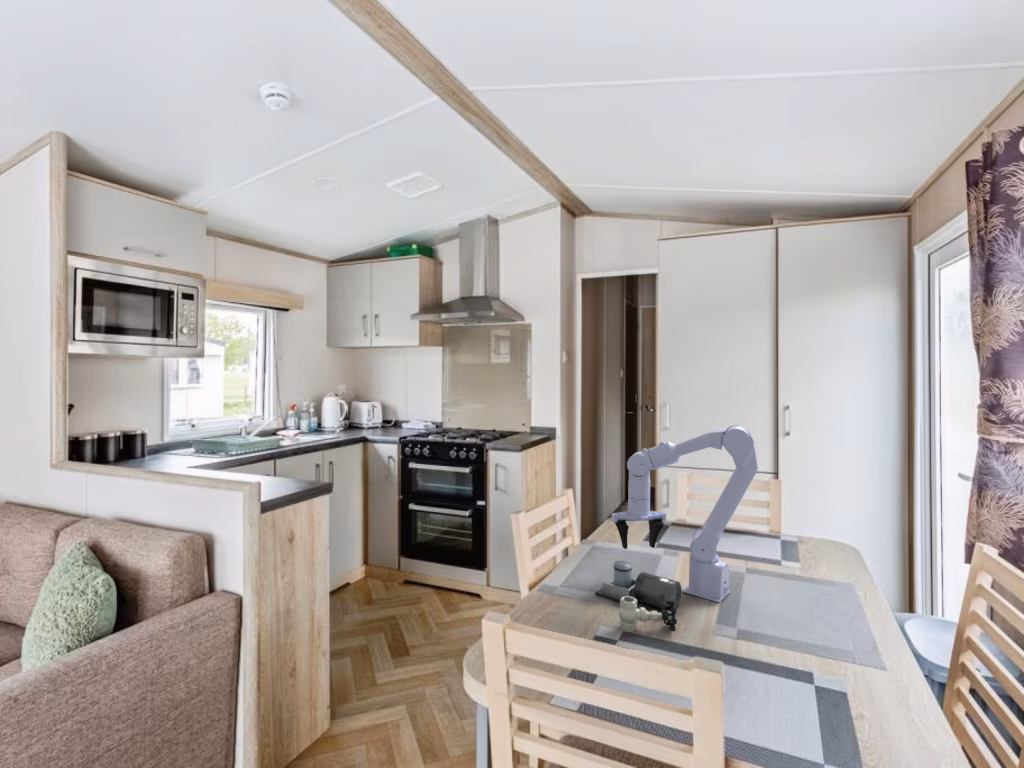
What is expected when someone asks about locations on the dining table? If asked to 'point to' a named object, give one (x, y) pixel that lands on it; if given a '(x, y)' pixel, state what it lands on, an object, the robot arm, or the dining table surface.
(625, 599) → the valve
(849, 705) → the dining table surface
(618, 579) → the banded grey cylinder
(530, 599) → the dining table surface
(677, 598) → the motor
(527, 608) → the dining table surface
